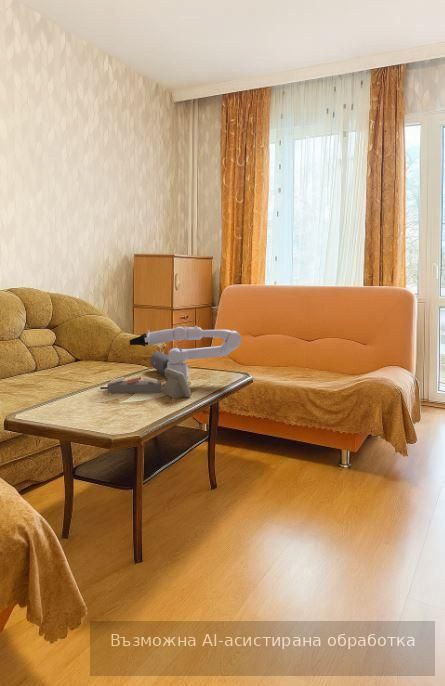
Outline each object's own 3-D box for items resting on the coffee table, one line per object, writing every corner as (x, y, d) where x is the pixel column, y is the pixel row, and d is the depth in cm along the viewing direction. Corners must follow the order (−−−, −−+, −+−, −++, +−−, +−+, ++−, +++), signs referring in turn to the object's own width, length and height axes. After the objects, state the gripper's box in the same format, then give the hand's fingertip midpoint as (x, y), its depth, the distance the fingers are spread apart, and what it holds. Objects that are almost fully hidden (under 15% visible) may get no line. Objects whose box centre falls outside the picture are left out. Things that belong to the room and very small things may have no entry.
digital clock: (192, 398, 212) (192, 372, 211) (171, 400, 209) (170, 374, 208) (181, 389, 227) (181, 366, 226) (161, 391, 224) (161, 367, 223)
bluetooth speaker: (148, 370, 270) (148, 351, 269) (166, 369, 274) (165, 350, 273) (161, 379, 250) (160, 358, 248) (179, 377, 253) (179, 357, 252)
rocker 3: (157, 381, 226) (157, 379, 225) (156, 383, 223) (157, 380, 223) (143, 378, 225) (144, 376, 225) (142, 379, 223) (143, 377, 223)
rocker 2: (141, 378, 225) (140, 376, 225) (140, 379, 223) (139, 377, 223) (128, 382, 226) (127, 379, 226) (126, 383, 223) (126, 381, 223)
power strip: (161, 388, 230) (161, 379, 230) (158, 392, 222) (158, 383, 222) (102, 388, 231) (102, 379, 230) (98, 392, 223) (98, 383, 222)
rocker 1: (125, 378, 226) (124, 376, 225) (124, 379, 223) (123, 377, 223) (112, 382, 226) (111, 379, 226) (110, 383, 223) (109, 381, 223)
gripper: (159, 327, 245) (131, 332, 245) (157, 328, 231) (127, 334, 231) (162, 342, 246) (133, 347, 246) (160, 344, 232) (129, 349, 231)
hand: (130, 342), depth 238 cm, fingers open, 7 cm apart
